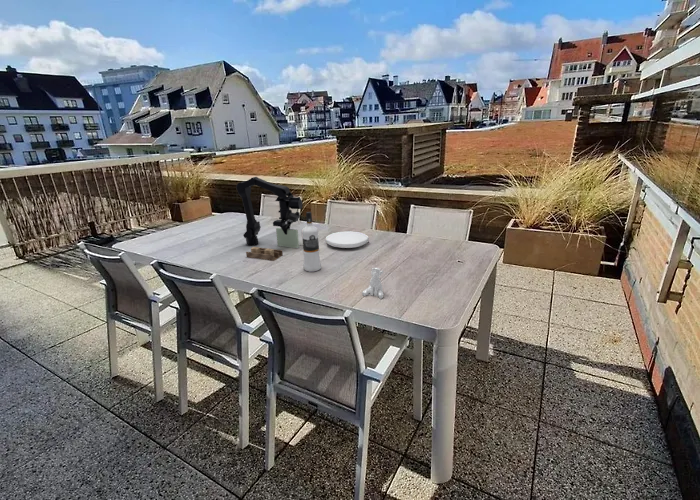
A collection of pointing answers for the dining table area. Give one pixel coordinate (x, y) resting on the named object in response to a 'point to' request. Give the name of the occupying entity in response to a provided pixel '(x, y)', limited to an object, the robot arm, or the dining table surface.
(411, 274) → the dining table surface
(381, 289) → the sitting furry creature
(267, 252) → the offcut
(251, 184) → the robot arm
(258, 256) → the rack
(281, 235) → the green rectangular slab
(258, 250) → the offcut
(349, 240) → the plate
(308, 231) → the vodka
